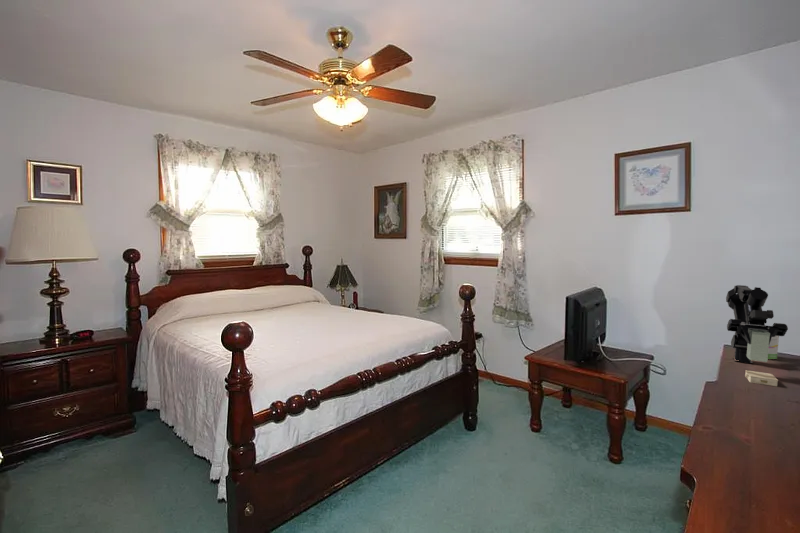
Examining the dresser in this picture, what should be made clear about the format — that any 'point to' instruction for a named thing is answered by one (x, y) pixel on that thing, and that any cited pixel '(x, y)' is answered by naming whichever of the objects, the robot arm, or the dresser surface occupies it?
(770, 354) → the ink box
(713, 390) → the dresser surface
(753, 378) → the jewelry box
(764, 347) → the green lidded box
